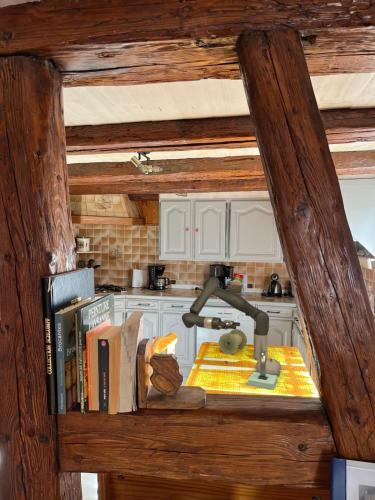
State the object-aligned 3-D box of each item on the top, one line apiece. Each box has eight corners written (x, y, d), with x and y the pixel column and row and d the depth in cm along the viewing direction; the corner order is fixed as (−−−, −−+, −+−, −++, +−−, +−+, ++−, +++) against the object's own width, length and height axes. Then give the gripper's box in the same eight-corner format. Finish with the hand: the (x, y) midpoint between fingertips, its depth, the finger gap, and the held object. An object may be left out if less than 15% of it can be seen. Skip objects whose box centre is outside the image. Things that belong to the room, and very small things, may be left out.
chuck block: (253, 376, 201) (253, 371, 201) (277, 380, 195) (277, 375, 195) (247, 385, 188) (247, 379, 188) (273, 389, 182) (273, 384, 182)
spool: (237, 356, 238) (237, 335, 238) (218, 352, 246) (218, 332, 246) (246, 350, 252) (246, 330, 252) (228, 347, 260) (228, 327, 260)
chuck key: (261, 380, 195) (261, 350, 195) (266, 381, 194) (267, 351, 194) (258, 384, 189) (259, 353, 189) (264, 385, 187) (264, 354, 187)
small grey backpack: (256, 366, 219) (254, 377, 199) (257, 353, 219) (255, 363, 199) (280, 369, 215) (281, 381, 195) (281, 356, 215) (281, 366, 195)
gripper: (208, 319, 201) (235, 322, 195) (216, 315, 214) (241, 317, 208) (208, 331, 201) (234, 334, 195) (216, 326, 214) (241, 329, 208)
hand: (238, 325), depth 201 cm, fingers open, 8 cm apart
